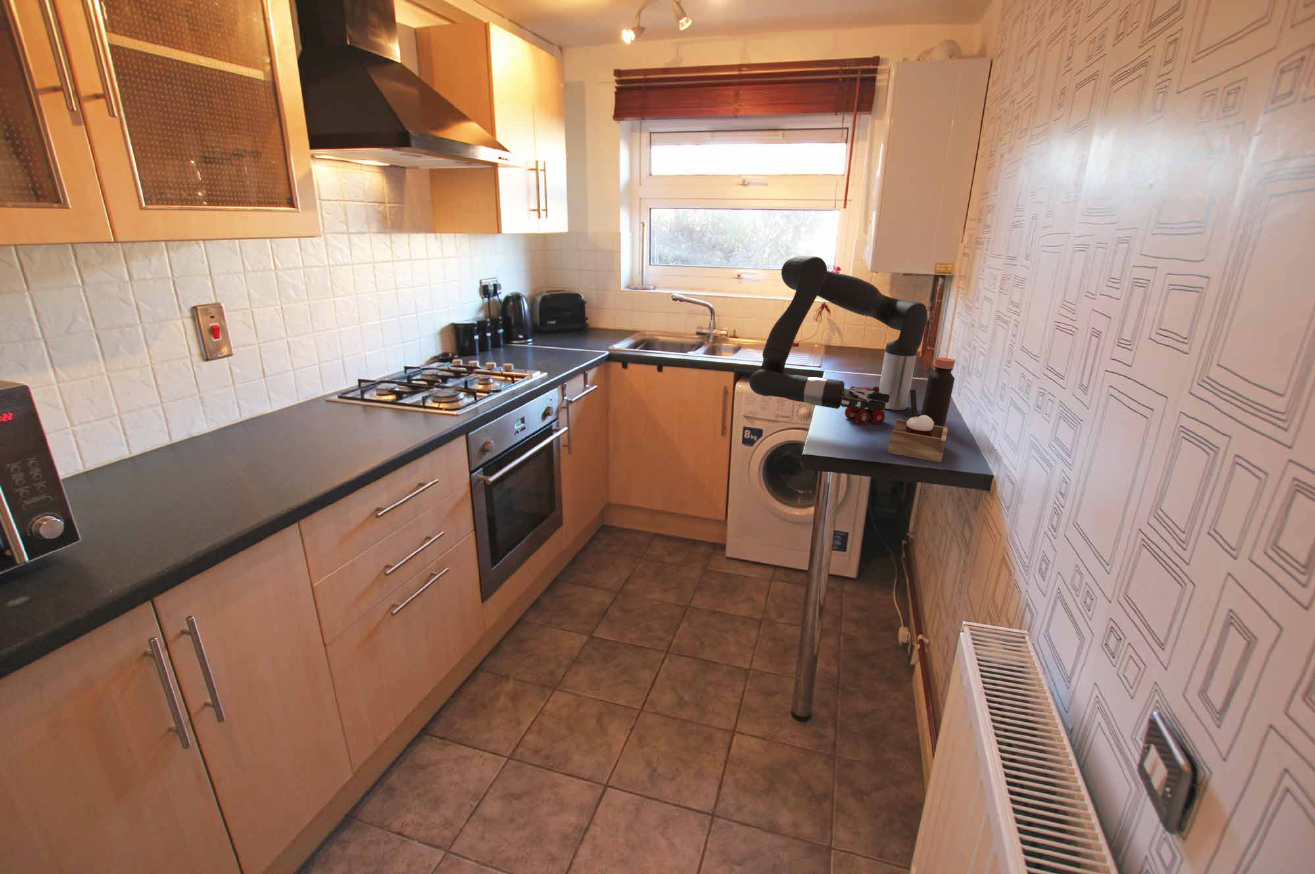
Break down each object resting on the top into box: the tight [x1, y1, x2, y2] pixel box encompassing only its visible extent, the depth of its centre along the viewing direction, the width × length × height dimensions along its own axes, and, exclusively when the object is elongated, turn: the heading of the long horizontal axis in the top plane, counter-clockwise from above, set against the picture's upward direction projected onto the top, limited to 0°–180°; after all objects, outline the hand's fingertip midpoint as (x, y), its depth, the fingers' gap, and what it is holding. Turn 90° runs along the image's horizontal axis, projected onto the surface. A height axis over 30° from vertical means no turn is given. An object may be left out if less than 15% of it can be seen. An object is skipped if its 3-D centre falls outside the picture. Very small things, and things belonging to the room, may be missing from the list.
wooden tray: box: [886, 418, 949, 463], centre depth 156 cm, size 14×12×6 cm
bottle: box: [920, 357, 956, 427], centre depth 172 cm, size 7×7×20 cm
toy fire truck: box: [844, 385, 886, 426], centre depth 177 cm, size 7×12×10 cm, turn 106°
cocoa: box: [906, 388, 934, 437], centre depth 154 cm, size 10×6×12 cm, turn 176°
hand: (887, 402), depth 157 cm, fingers open, 8 cm apart
